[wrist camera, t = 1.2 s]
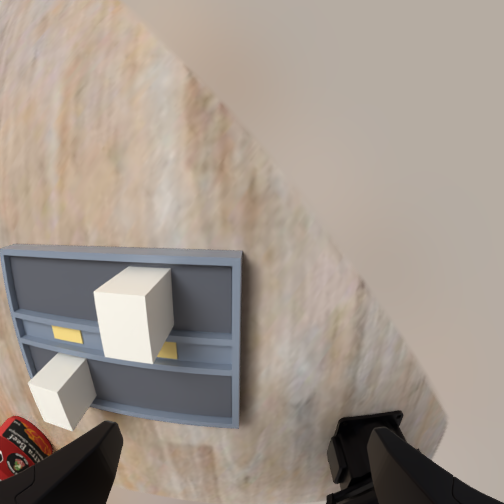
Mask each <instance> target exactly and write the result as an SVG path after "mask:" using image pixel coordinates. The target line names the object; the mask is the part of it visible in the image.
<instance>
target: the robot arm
mask: <svg viewBox="0 0 504 504" xmlns="http://www.w3.org/2000/svg"><path fill="white" fill-rule="evenodd" d="M402 418H403V413H402V411H394V412H387V413H380V414H373V415H365V416H356V417H346V418H342V419H340V420H339V422H338V425H337V429H336V432H335V436H333V437H332V438H331V441H330V445H329V448H328V451H327V456H328V462H329V465H330V469H331V474H332V478H333V482H334V483H335V484H339V483H340V487H341V491H339V492H336V493H334V494H333V493H332V494H329V495H327V503H326V504H504V503H503V502H500V501H498V500H496V499H494V498H492V497H490V496H487V495H485V494H483V493H481V492H479V491H477V490H476V489H474V488H472V487H470V486H468V485H467V484H465V483H464V482H462V481H461V480H459V479H458V478H456V477H453V475H452V474H450V473H449V472H447V471H446V470H444V469H443V468H442V467H440V466H438V465H437V464H436V463H434V462H433V461H432V460H430V459H429V458H427V457H426V456H425V455H423V454H422V453H421V452H420V450H419V448H418V449H417V450H416V449H415V448H414V447H412V446H411V445H409V444H408V443H407V441H406V439H405V438H404V436H403V434H402V432H401V430H400V428H399V425H400V423H401V420H402ZM122 446H123V437H122V434H121V432H120V429H119V426H118V424H117V423H116V422H112V421H104V422H102V423H101V424H99V425H98V426H96V427H95V428H93V429H91V430H90V431H88V432H87V433H85V434H84V435H82V436H80V437H79V438H77V439H76V440H74V441H72V442H71V443H69V444H68V445H66V446H64V447H63V448H61V449H59V450H58V451H56V452H55V453H53V454H51V455H50V456H48V457H46V458H44V459H43V460H41V461H39V462H38V463H36V464H35V465H32V466H31V467H29V468H27V469H25V470H23V471H22V472H20V473H18V474H16V475H13V476H11V477H9V478H7V479H4V480H2V481H0V504H106V502H107V499H108V496H109V493H110V491H111V488H112V485H113V482H114V479H115V476H116V472H117V467H118V463H119V459H120V454H121V450H122Z"/></svg>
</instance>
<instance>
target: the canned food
mask: <svg viewBox="0 0 504 504" xmlns="http://www.w3.org/2000/svg"><path fill="white" fill-rule="evenodd" d="M51 454H52V447H51V444H50V442H49V441H48V439H47V438H46V437H45V436H44V434H43V433H42V432H41V431H40V430H39V429H38V428H36V427H35V426H34V425H33V424H31V423H30V422H29V421H27V420H25V419H23V418H21V417H18V416H12V417H10V418H8V419H7V420H6V421H5V422H4V423H3V425H2V426H1V427H0V481H2V480H4V479H7V478H9V477H11V476H13V475H16V474H18V473H20V472H22V471H23V470H25V469H27V468H29V467H31V466H32V465H35V464H36V463H38V462H39V461H41V460H43V459H44V458H46V457H48V456H50V455H51Z"/></svg>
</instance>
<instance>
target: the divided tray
mask: <svg viewBox="0 0 504 504" xmlns="http://www.w3.org/2000/svg"><path fill="white" fill-rule="evenodd" d="M0 258H1V265H2V271H3V277H4V283H5V288H6V293H7V298H8V303H9V307H10V312H11V316H12V320H13V324H14V328H15V331H16V335H17V338H18V342H19V345H20V349H21V352H22V355H23V358H24V361H25V364H26V367H27V370H28V373H29V375H30V378H31V379H32V378H33V377H34V376H35V375H36V374H37V373H38V372H39V371H40V370H41V369H42V368H43V367H44V366H45V365H46V364H47V363H48V362H49V361H50V360H51V359H52V358H53V357H54V356H55V355H56V354H57V353H58V352H60V353H64V354H68V355H73V356H78V357H82V358H87V362H88V366H89V370H90V374H91V377H92V381H93V384H94V388H95V391H96V394H97V396H96V397H95V399H94V400H93V402H92V403H91V405H90V406H89V407H93V408H97V409H101V410H105V411H110V412H114V413H119V414H124V415H129V416H134V417H139V418H145V419H151V420H157V421H164V422H171V423H178V424H187V425H196V426H207V427H219V428H236V429H239V417H240V355H241V295H242V251H234V250H201V249H168V248H134V247H101V246H67V245H33V244H12V245H9V246H6V247H3V248H1V249H0ZM128 266H131V267H152V268H171V280H172V298H173V314H174V326H173V328H172V330H171V332H170V333H169V335H168V337H167V339H166V341H165V343H164V344H163V346H162V348H161V350H160V352H159V354H158V356H157V357H156V359H155V361H154V363H153V364H149V363H141V362H134V361H127V360H121V359H114V358H108V357H105V355H104V350H103V345H102V340H101V335H100V330H99V324H98V318H97V312H96V306H95V299H94V291H95V290H96V289H98V288H99V287H100V286H102V285H103V284H105V283H106V282H107V281H109V280H110V279H112V278H113V277H114V276H116V275H117V274H119V273H120V272H121V271H123V270H124V269H126V268H127V267H128Z"/></svg>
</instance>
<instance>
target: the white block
mask: <svg viewBox="0 0 504 504" xmlns="http://www.w3.org/2000/svg"><path fill="white" fill-rule="evenodd" d="M28 384H29V387H30V390H31V392H32V394H33V397H34V399H35V402H36V404H37V406H38V408H39V411H40V413H41V415H42V417H43V419H44V421H45V422H48V423H50V424H53V425H56V426H59V427H62V428H64V429H67V430H70V431H74V429H75V428H76V426H77V424H78V423H79V421H80V420H81V418H82V417H83V415H84V414H85V412H86V411H87V409H88V408H89V406H90V405H91V403H92V402H93V400H94V399H95V397H96V396H97V394H96V391H95V388H94V384H93V381H92V377H91V374H90V370H89V366H88V362H87V358H82V357H78V356H73V355H68V354H64V353H60V352H58V353H57V354H56V355H55V356H54V357H53V358H52V359H51V360H50V361H49V362H48V363H47V364H46V365H45V366H44V367H43V368H42V369H41V370H40V371H39V372H38V373H37V374H36V375H35V376H34V377H33V378H32V379H31V380H30V381H29V382H28Z"/></svg>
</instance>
